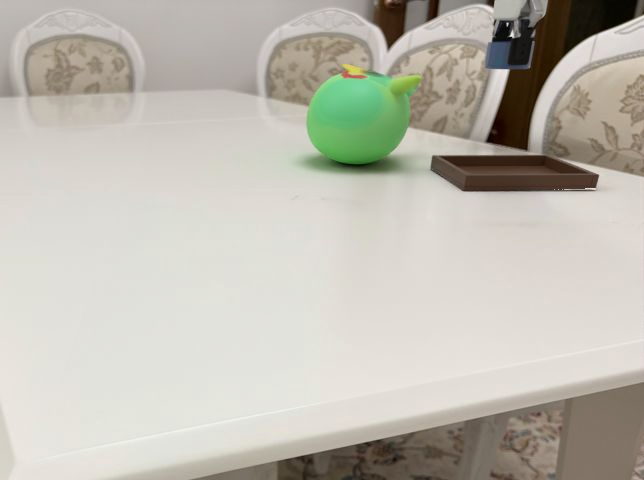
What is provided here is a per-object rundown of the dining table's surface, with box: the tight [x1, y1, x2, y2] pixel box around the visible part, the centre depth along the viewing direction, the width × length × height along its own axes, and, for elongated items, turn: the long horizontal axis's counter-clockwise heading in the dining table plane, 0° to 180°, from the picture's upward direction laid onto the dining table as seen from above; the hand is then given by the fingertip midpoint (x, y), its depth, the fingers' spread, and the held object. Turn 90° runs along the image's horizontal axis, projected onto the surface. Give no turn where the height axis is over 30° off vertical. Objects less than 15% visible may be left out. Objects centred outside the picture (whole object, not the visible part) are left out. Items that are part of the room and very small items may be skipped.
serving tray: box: [429, 154, 600, 192], centre depth 98 cm, size 18×15×2 cm
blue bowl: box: [483, 40, 536, 70], centre depth 113 cm, size 7×7×4 cm
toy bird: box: [305, 63, 423, 165], centre depth 107 cm, size 18×17×15 cm
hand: (507, 62), depth 114 cm, fingers closed on blue bowl, 7 cm apart
